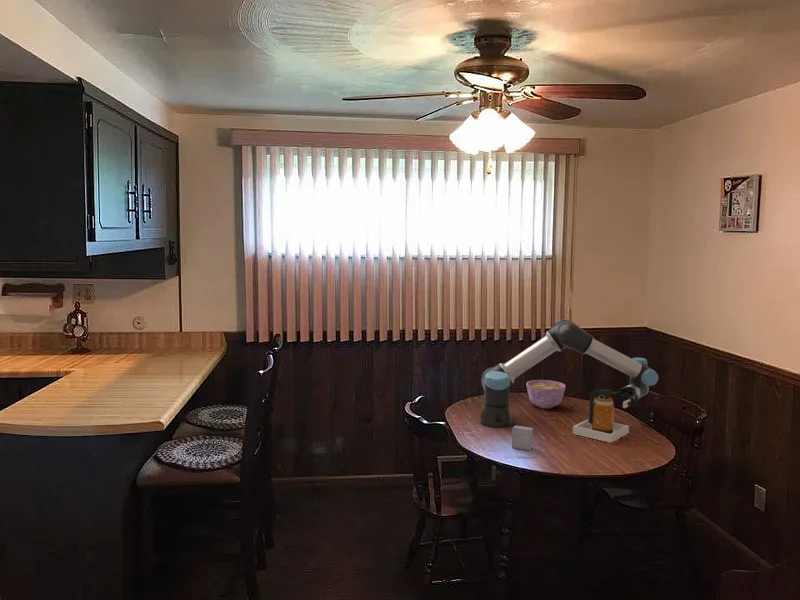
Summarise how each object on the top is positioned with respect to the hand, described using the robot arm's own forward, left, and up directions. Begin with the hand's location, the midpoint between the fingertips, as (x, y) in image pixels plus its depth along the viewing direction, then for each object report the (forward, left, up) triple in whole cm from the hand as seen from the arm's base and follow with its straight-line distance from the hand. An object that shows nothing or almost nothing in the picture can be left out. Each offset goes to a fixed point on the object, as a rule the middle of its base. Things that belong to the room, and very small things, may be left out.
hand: (609, 402), depth 299 cm
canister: (-6, +1, -13) cm, 14 cm away
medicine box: (-46, +17, -14) cm, 51 cm away
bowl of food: (+18, +43, -14) cm, 48 cm away
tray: (-6, +1, -14) cm, 15 cm away
